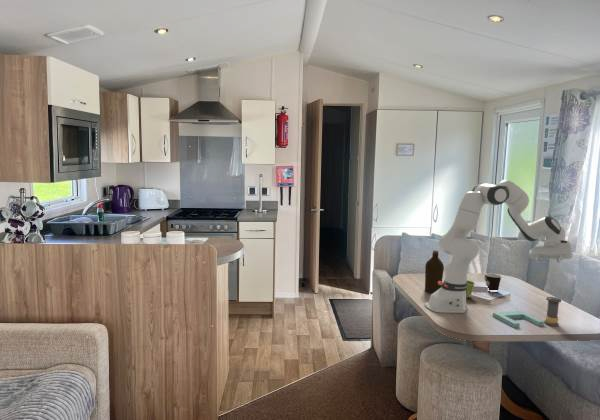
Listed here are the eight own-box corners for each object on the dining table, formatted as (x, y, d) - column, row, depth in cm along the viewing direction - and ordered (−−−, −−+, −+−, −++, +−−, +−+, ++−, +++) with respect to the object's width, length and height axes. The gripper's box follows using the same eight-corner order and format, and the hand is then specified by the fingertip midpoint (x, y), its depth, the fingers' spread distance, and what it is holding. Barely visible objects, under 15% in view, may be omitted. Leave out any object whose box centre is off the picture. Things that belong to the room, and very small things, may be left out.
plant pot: (471, 300, 262) (472, 285, 261) (454, 297, 267) (456, 282, 266) (475, 296, 270) (476, 281, 269) (458, 293, 275) (459, 279, 274)
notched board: (514, 327, 221) (514, 323, 221) (492, 316, 237) (492, 312, 236) (543, 325, 225) (543, 321, 225) (520, 314, 241) (520, 310, 241)
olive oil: (440, 295, 270) (443, 253, 267) (422, 292, 274) (424, 251, 271) (443, 290, 279) (446, 250, 276) (425, 287, 284) (428, 248, 281)
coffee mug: (501, 294, 276) (502, 277, 275) (486, 292, 278) (487, 276, 276) (497, 288, 287) (498, 273, 286) (482, 287, 289) (483, 272, 288)
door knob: (550, 326, 224) (553, 301, 222) (541, 322, 230) (543, 297, 228) (561, 326, 225) (564, 300, 224) (551, 321, 232) (554, 296, 230)
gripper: (530, 242, 254) (525, 256, 245) (572, 241, 240) (568, 256, 231) (533, 251, 256) (527, 266, 247) (575, 251, 242) (571, 266, 233)
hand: (547, 261), depth 239 cm, fingers open, 8 cm apart
